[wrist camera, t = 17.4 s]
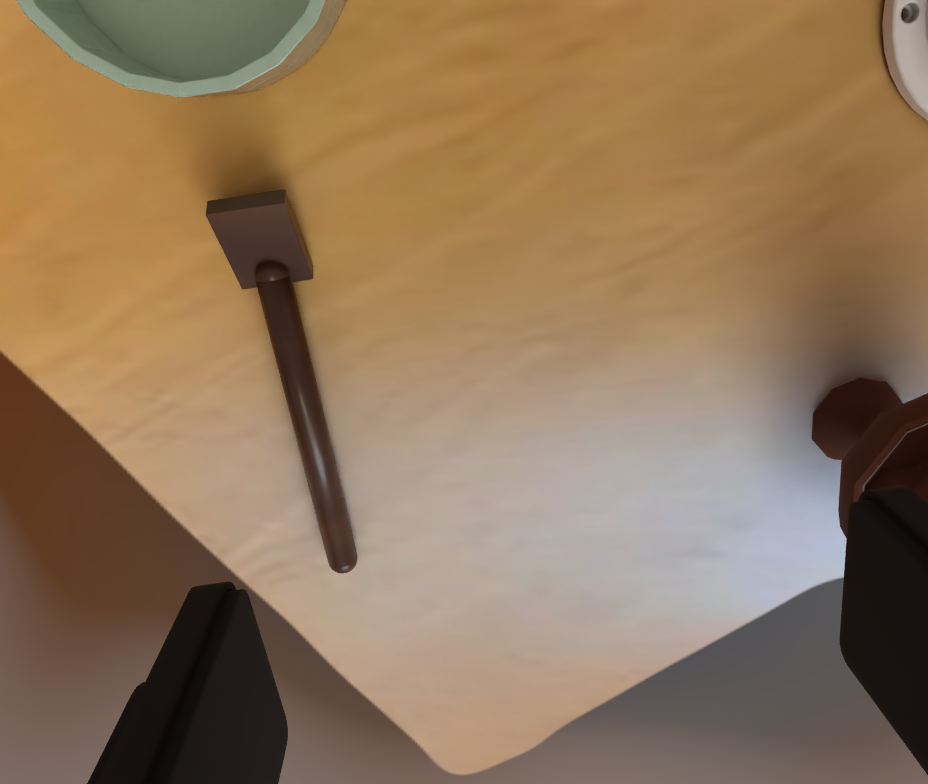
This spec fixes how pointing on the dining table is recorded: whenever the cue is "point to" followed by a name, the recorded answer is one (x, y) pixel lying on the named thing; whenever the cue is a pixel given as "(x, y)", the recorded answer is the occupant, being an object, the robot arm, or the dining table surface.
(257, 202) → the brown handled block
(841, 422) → the ice cream bowl
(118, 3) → the bowl
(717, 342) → the dining table surface
